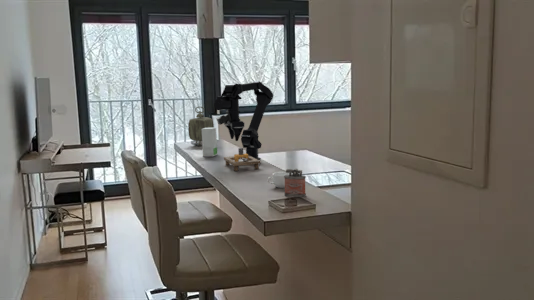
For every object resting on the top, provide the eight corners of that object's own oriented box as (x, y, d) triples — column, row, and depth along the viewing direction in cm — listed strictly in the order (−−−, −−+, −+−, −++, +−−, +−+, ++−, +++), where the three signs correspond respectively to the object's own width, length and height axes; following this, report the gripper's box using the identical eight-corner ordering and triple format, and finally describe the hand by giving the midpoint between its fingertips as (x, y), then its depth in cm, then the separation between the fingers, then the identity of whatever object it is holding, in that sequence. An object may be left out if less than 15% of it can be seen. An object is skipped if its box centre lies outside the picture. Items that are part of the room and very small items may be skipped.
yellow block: (234, 163, 248) (233, 148, 246) (246, 162, 249) (245, 147, 248) (236, 164, 244) (235, 149, 243) (248, 163, 246) (247, 148, 245)
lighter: (306, 195, 187) (306, 168, 186) (304, 197, 184) (304, 170, 182) (286, 194, 190) (285, 167, 188) (283, 196, 187) (282, 169, 185)
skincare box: (213, 156, 280) (212, 128, 277) (202, 156, 281) (200, 128, 279) (217, 154, 288) (216, 127, 285) (206, 154, 289) (205, 127, 287)
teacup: (288, 184, 207) (288, 171, 206) (294, 188, 199) (294, 174, 198) (265, 186, 204) (264, 173, 203) (270, 190, 197) (270, 176, 196)
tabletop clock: (214, 145, 326) (212, 106, 322) (207, 147, 318) (205, 107, 314) (195, 144, 332) (193, 106, 328) (187, 146, 323) (185, 107, 320)
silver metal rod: (235, 156, 254) (235, 154, 253) (239, 156, 254) (239, 153, 254) (243, 162, 239) (243, 159, 238) (248, 161, 239) (247, 158, 239)
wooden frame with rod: (224, 164, 254) (223, 157, 254) (248, 162, 258) (248, 155, 258) (234, 171, 236) (233, 163, 235) (260, 169, 240) (260, 161, 239)
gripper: (213, 108, 259) (214, 138, 262) (221, 110, 242) (223, 143, 244) (234, 107, 263) (235, 137, 265) (244, 109, 245) (245, 141, 247)
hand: (234, 139), depth 255 cm, fingers open, 9 cm apart
